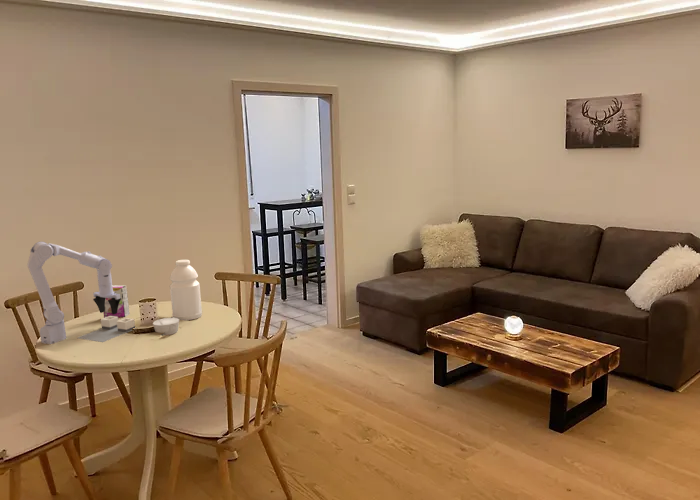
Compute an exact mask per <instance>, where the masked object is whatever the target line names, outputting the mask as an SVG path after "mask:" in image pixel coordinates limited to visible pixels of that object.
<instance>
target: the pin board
mask: <svg viewBox="0 0 700 500" xmlns="http://www.w3.org/2000/svg"><path fill="white" fill-rule="evenodd" d="M132 331H133V330H131V331H128V332H122V331H118V327H116V328H114V329H111V330H108V329H102V327H101V328H98V329H97V330H94V331H91V332H89V333H86V334H83V335H80V336H78V337H76V339H80V340H87V341H91V342H92V341H93V342H99V343H105V342H107V341H109V340H112V339H115V338H117V337H119V336H121V335H124V334H127V333H129V332H132Z"/></svg>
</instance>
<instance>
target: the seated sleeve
mask: <svg viewBox="0 0 700 500" xmlns="http://www.w3.org/2000/svg"><path fill="white" fill-rule="evenodd" d="M117 327H118V331H122V332H127V333H129V332H132V331H133V330H132V329H133V328H135V327H136V324H135V319H134V318H129V317H123V318H122V319H118V321H117ZM131 330H132V331H131ZM128 331H129V332H128Z"/></svg>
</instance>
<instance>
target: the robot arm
mask: <svg viewBox="0 0 700 500" xmlns="http://www.w3.org/2000/svg"><path fill="white" fill-rule="evenodd" d="M29 251H30V253H29V256H28V261H27V265H26V266H27V268H28V271H29V272H30V276H31V279H32V281H33V283H34V285H35V287H36V290H37V293H38V296H39V299H40V300H41V303H42V308H43V316H44V318H45V319H46V320H45V324H44V325H43V326H41V327H40V328H39V336H40V343H42V344H45V345H46V344H48V345H53V344H55V343H58V342H61V341H64V340H66V339H67V333H66V325H65V320H64V318H65V313H64V312H63V311H62V310H61V309H60V308H59V305H58V304H57V302H56V300H55V298H54V295H53V292H52V290H51V287H50V285H49V282H48V280H47V277H46V274H45V272H44V270H43V265H44V264H45V262H46V261H47V260H49V259H50V258H51V257H52V256H53V257H57V256H63V257H67V258H71V259H74V260H77V261H78V264H80V265H82V266H87V267H89V268H92V269H96V274H97V282H98V283H97V285H98V291H95V292H93V294H92V295H93V297H94V298H92V301H93V302H94V303H95V304H96V306H97V308H98V310H99V312H100V314H102V313H103V312H105V299H106V298H112V299H111V300H108V302H109V304H110V306H111V311H112V314H113V315H114V314H117V310H118V305H119V303H120V300H121V298H120V294H116V293H115V292H114V291H113V286H112V285H113V280H112V279H113V278H112V273H111V272H112V271H111V270H112V267H113V264H112V262H111V261H110V259H108V258H105V257H103V256H102V255H100V254H99V255H96V254H94V253H92V252H91V251H82V252H78V251H75V250H73V249H71V248H70V249H69V248H67V247H64V246H63V245H59V244H56V243H49V242H48V243H47V242H45V241H38V242H35V243H34V245H32V247H31V248H30V250H29ZM103 314H104V313H103Z"/></svg>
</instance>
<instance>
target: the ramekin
mask: <svg viewBox="0 0 700 500" xmlns="http://www.w3.org/2000/svg"><path fill="white" fill-rule="evenodd" d="M179 325H180V320H179V319H177V318H173V317H164V318H159V319H157V320H154V321H153V322H152V326H153V329H154V331H155V332H156V333H161V334H160V336H161V337H163V336H170V335H174V334H176V333H178V331H179V327H180V326H179Z"/></svg>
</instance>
